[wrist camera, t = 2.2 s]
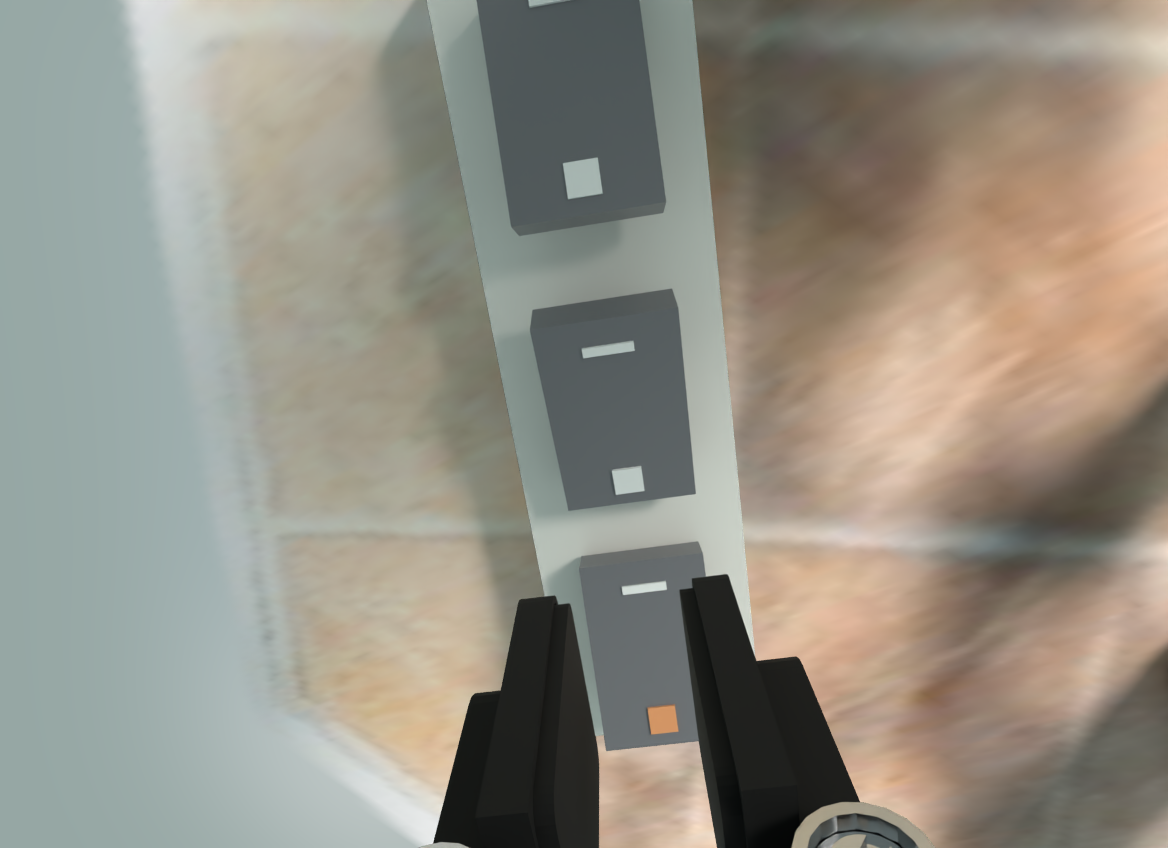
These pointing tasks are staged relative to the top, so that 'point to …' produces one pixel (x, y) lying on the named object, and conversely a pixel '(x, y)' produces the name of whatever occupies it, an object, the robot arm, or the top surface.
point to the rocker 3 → (641, 642)
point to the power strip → (598, 271)
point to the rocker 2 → (616, 398)
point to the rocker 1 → (572, 111)
